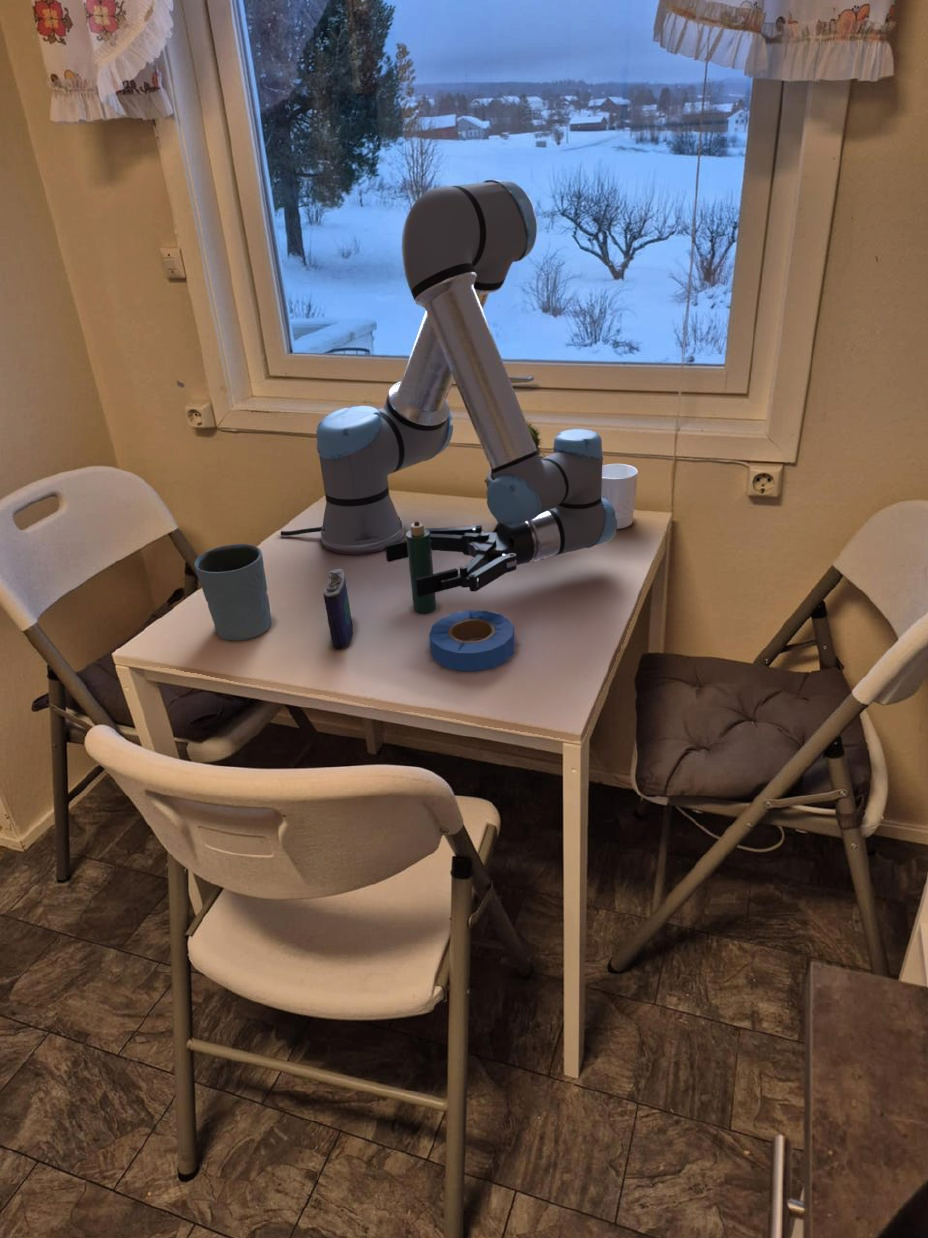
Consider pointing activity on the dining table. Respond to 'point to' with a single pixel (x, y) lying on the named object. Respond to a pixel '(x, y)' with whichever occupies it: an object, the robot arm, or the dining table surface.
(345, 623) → the flask
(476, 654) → the tape roll
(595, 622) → the dining table surface
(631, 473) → the grey faceted cup
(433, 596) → the green cylinder
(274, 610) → the dining table surface
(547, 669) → the dining table surface
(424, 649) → the dining table surface
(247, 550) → the blue cup
